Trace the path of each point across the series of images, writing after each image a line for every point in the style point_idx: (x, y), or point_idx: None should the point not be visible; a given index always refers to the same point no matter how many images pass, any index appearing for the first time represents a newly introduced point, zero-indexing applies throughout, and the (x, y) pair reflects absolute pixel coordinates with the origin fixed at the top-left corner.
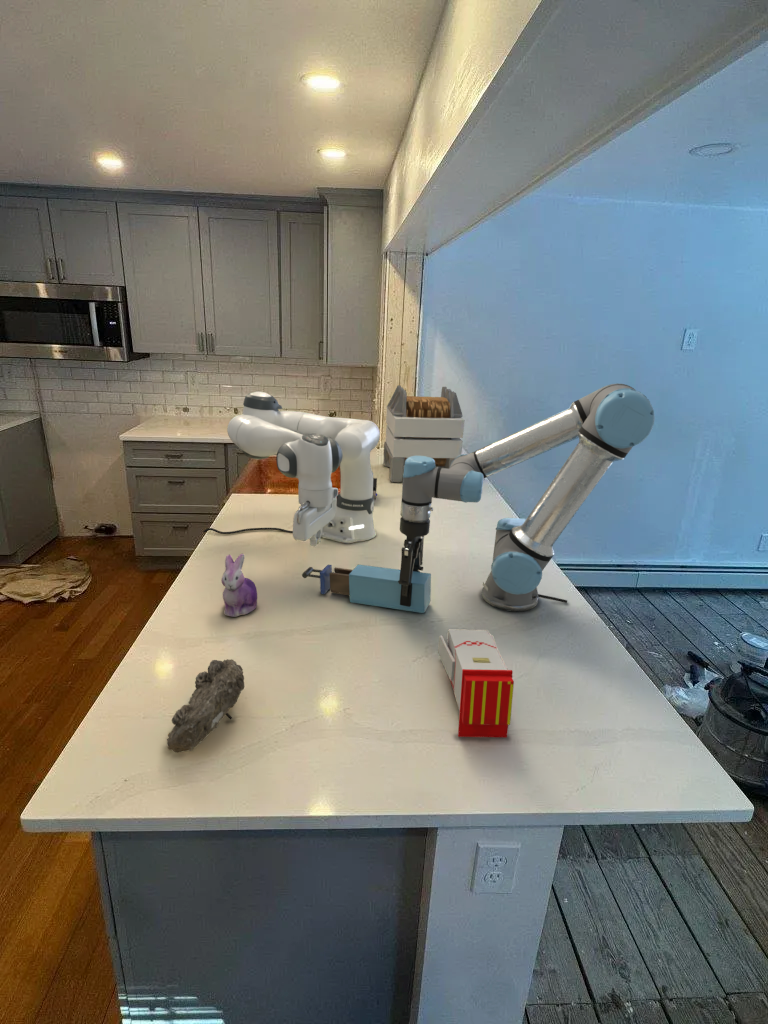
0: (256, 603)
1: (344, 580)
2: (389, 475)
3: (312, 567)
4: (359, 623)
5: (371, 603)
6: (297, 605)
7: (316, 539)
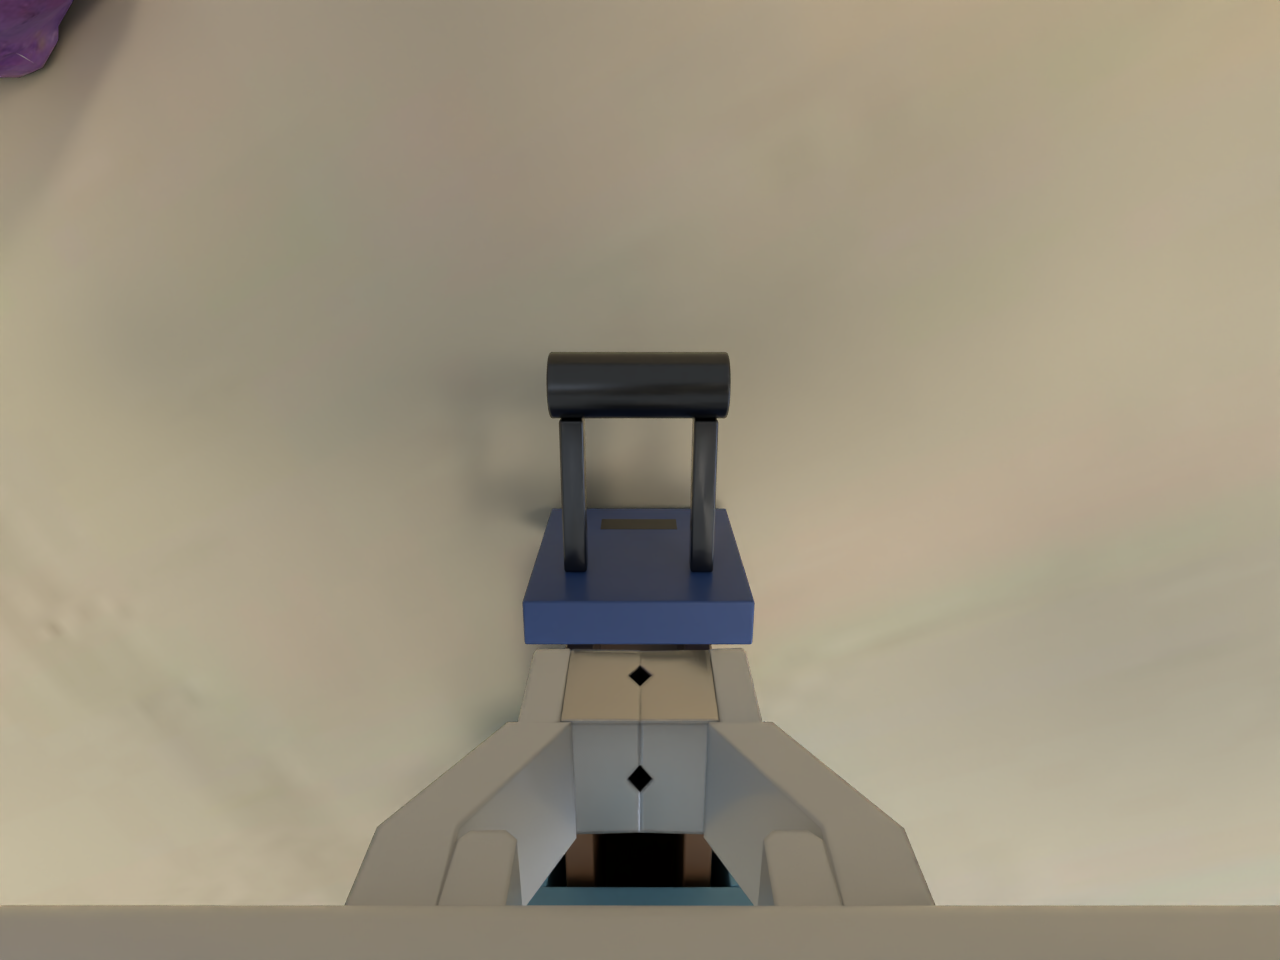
0: (2, 72)
1: None
2: None
3: (727, 409)
4: (327, 842)
5: None
6: (309, 404)
7: (547, 854)
